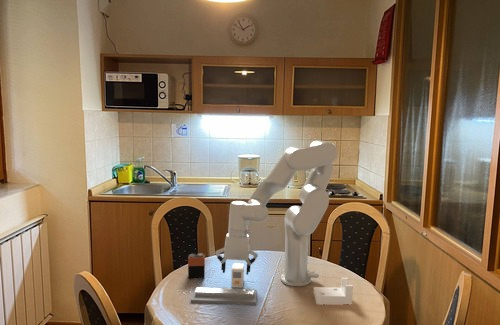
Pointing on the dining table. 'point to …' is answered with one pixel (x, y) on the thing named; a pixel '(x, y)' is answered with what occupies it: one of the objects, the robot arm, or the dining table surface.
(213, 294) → the rail
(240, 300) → the mounting plate
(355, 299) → the dining table surface
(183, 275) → the dining table surface
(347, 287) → the bracket
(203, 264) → the battery
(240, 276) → the block
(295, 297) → the dining table surface
